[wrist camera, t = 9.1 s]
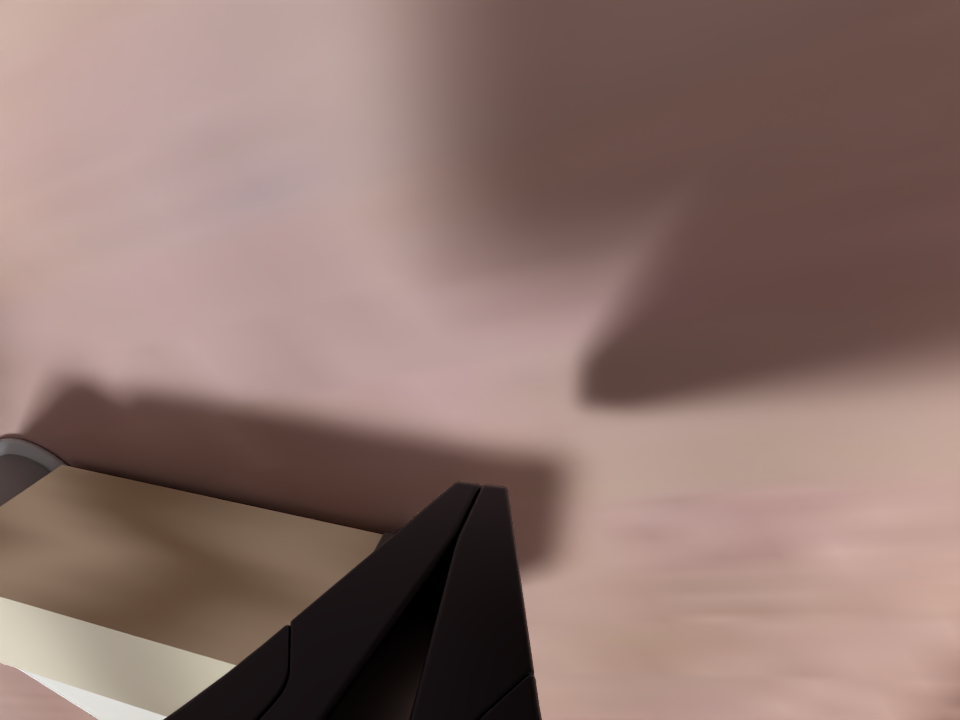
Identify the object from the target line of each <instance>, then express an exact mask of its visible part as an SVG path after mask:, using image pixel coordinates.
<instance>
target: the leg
mask: <svg viewBox="0 0 960 720" xmlns="http://www.w3.org/2000/svg"><path fill="white" fill-rule="evenodd" d="M393 535H394V534H393V533H388V532H384V534H383V535H382V534H378V533H373V532H368V531H364V530H359V529H355V528H350V527H345V526H341V525H336V524H332V523H327V522H322V521H318V520H313V519H309V518H304V517H299V516H295V515H290V514H286V513H281V512H277V511H272V510H267V509H263V508H258V507H254V506H249V505H244V504H240V503H235V502H231V501H226V500H221V499H217V498H212V497H208V496H203V495H198V494H194V493H189V492H185V491H180V490H176V489H171V488H166V487H162V486H157V485H153V484H148V483H143V482H139V481H134V480H130V479H125V478H120V477H116V476H111V475H107V474H102V473H97V472H93V471H88V470H84V469H79V468H75V467H70V466H65V465H61V466H60V467H58V468H57V469H55V470H54V471H52V472H50V471H49V470H47V469H46V468H44V467H43V466H41V465H40V464H38V463H36V462H35V461H32V460H30V459H28V458H25V457H23V456H19V455H14V454H6V455H2V456H0V663H2V664H5V665H8V666H12V667H15V668H18V669H21V670H24V671H27V672H30V673H33V674H36V675H39V676H42V677H46V678H49V679H52V680H55V681H58V682H61V683H64V684H67V685H70V686H73V687H76V688H80V689H83V690H86V691H89V692H92V693H95V694H98V695H101V696H104V697H107V698H110V699H114V700H117V701H120V702H123V703H126V704H129V705H132V706H135V707H138V708H141V709H144V710H148V711H151V712H154V713H157V714H160V715H163V716H166V717H168V716H169V715H170V714H172V713H173V712H175V711H176V710H177V709H179V708H180V707H182V706H183V705H184V704H186V703H187V702H188V701H190V700H191V699H192V698H194V697H195V696H197V695H198V694H199V693H201V692H202V691H203V690H205V689H206V688H207V687H209V686H210V685H211V684H213V683H214V682H215V681H217V680H218V679H219V678H221V677H222V676H223V675H225V674H226V673H228V672H229V671H230V670H231V669H233V668H234V667H235V666H236V665H238V664H239V663H240V662H241V661H242V660H244V659H245V658H246V657H247V656H249V655H250V654H251V653H252V652H254V651H255V650H256V649H257V648H259V647H260V646H261V645H262V644H264V643H265V642H266V641H267V640H268V639H270V638H271V637H272V636H273V635H274V634H276V633H277V632H278V631H279V630H280V629H281V628H283V627H284V626H285V625H290V623H291V620H293V619H294V618H295V617H296V616H297V615H298V614H300V613H301V612H302V611H303V610H304V609H306V608H307V607H308V606H309V605H310V604H312V603H313V602H314V601H315V600H316V599H318V598H319V597H320V596H321V595H322V594H323V593H325V592H326V591H327V590H328V589H329V588H331V587H332V586H333V585H334V584H335V583H337V582H338V581H339V580H340V579H341V578H343V577H344V576H345V575H346V574H347V573H348V572H350V571H351V570H352V569H353V568H354V567H356V566H357V565H358V564H359V563H360V562H362V561H363V560H364V559H365V558H366V557H368V556H369V555H370V554H371V553H372V552H373V551H375V550H376V549H377V548H378V547H379V546H381V545H382V544H383V543H384V542H385V541H387V540H388V539H389V538H390V537H391V536H393Z"/></svg>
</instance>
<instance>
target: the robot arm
mask: <svg viewBox="0 0 960 720" xmlns="http://www.w3.org/2000/svg"><path fill="white" fill-rule="evenodd" d="M163 720H542V718H541V712H540V707H539V700H538V693H537V686H536V679H535V677H534V667H533V661H532V654H531V647H530V640H529V633H528V626H527V619H526V612H525V605H524V598H523V592H522V585H521V578H520V571H519V564H518V557H517V550H516V543H515V536H514V529H513V522H512V516H511V509H510V502H509V495H508V490H507V488H506V487H503V486H495V485H484V486H481V485H480V484H477V483H469V482H457V483H455V484H453V485H452V486H451V487H450V488H448V489H447V490H446V491H445V492H444V493H443V494H441V495H440V496H439V497H438V498H437V499H435V500H434V501H433V502H432V503H431V504H429V505H428V506H427V507H426V508H425V509H423V510H422V511H421V512H420V513H419V514H418V515H416V516H415V517H414V518H413V519H412V520H410V521H409V522H408V523H407V524H406V525H404V526H403V527H402V528H401V529H400V530H398V531H397V532H396V533H395V534H394V535H393V536H391V537H390V538H389V539H388V540H387V541H385V542H384V543H383V544H382V545H381V546H379V547H378V548H377V549H376V550H375V551H373V552H372V553H371V554H370V555H369V556H368V557H366V558H365V559H364V560H363V561H362V562H360V563H359V564H358V565H357V566H356V567H354V568H353V569H352V570H351V571H350V572H348V573H347V574H346V575H345V576H344V577H343V578H341V579H340V580H339V581H338V582H337V583H335V584H334V585H333V586H332V587H331V588H329V589H328V590H327V591H326V592H325V593H323V594H322V595H321V596H320V597H319V598H318V599H316V600H315V601H314V602H313V603H312V604H310V605H309V606H308V607H307V608H306V609H304V610H303V611H302V612H301V613H300V614H298V615H297V616H296V617H295V618H294V619H293V620H291V623H290V625H285V626H284V627H283V628H281V629H280V630H279V631H278V632H277V633H276V634H274V635H273V636H272V637H271V638H270V639H268V640H267V641H266V642H265V643H264V644H262V645H261V646H260V647H259V648H257V649H256V650H255V651H254V652H252V653H251V654H250V655H249V656H247V657H246V658H245V659H244V660H242V661H241V662H240V663H239V664H238V665H236V666H235V667H234V668H233V669H231V670H230V671H229V672H228V673H226V674H225V675H223V676H222V677H221V678H219V679H218V680H217V681H215V682H214V683H213V684H211V685H210V686H209V687H207V688H206V689H205V690H203V691H202V692H201V693H199V694H198V695H197V696H195V697H194V698H192V699H191V700H190V701H188V702H187V703H186V704H184V705H183V706H182V707H180V708H179V709H177V710H176V711H175V712H173V713H172V714H170V715H169V716H168V717H166V718H165V719H163Z"/></svg>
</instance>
